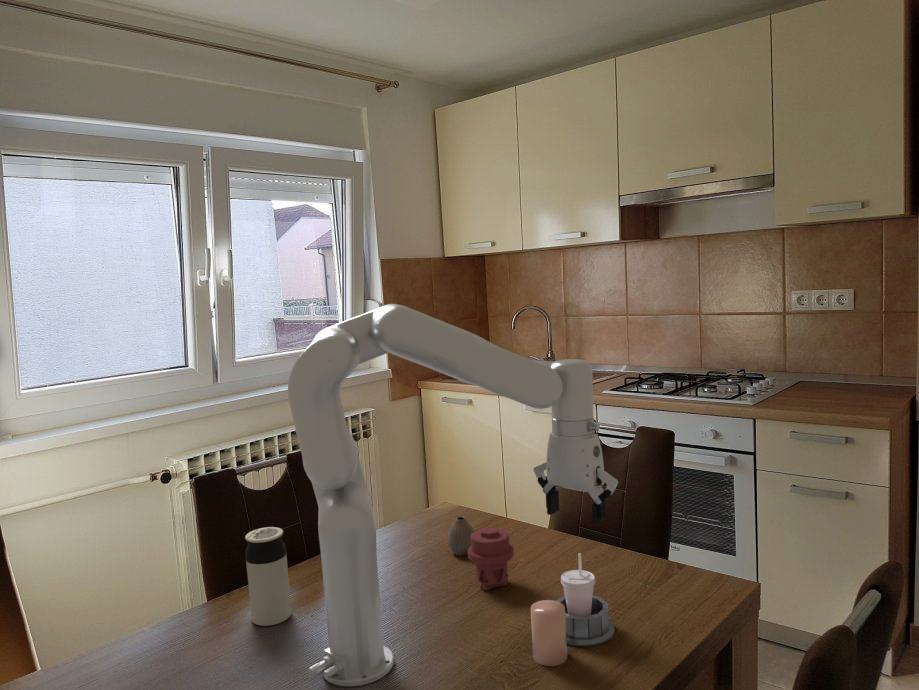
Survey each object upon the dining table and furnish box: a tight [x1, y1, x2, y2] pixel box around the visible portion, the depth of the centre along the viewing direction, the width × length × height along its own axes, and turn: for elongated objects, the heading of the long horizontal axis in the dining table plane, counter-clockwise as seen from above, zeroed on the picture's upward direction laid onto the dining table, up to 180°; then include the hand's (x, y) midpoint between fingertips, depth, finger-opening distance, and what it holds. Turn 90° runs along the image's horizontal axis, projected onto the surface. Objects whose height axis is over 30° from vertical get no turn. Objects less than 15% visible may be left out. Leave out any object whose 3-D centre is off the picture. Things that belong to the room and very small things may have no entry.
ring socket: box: [555, 594, 616, 648], centre depth 132 cm, size 12×12×5 cm
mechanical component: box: [467, 526, 515, 591], centre depth 153 cm, size 12×10×10 cm
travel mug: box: [244, 526, 292, 627], centre depth 143 cm, size 8×8×18 cm
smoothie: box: [560, 552, 596, 616], centre depth 131 cm, size 6×6×14 cm
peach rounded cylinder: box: [530, 599, 568, 667], centre depth 123 cm, size 6×6×9 cm
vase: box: [447, 516, 476, 557], centre depth 171 cm, size 7×7×9 cm
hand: (575, 517), depth 130 cm, fingers open, 9 cm apart
